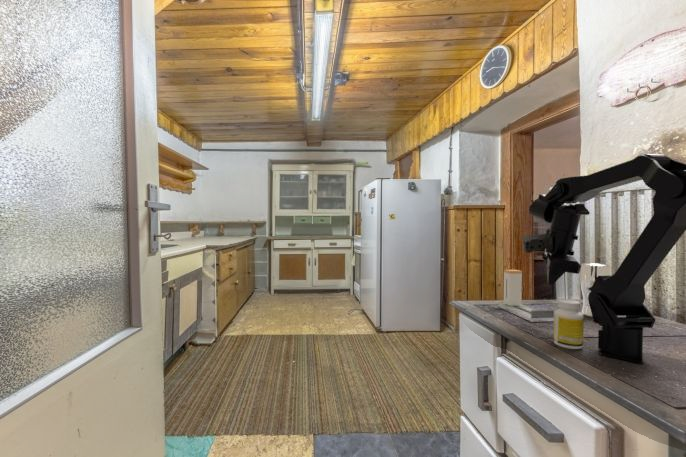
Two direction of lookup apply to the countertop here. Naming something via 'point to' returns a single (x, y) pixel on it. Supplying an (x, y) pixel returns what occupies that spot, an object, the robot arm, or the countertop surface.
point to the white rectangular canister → (512, 287)
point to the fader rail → (529, 313)
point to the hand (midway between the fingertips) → (550, 284)
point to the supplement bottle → (568, 325)
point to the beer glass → (590, 281)
